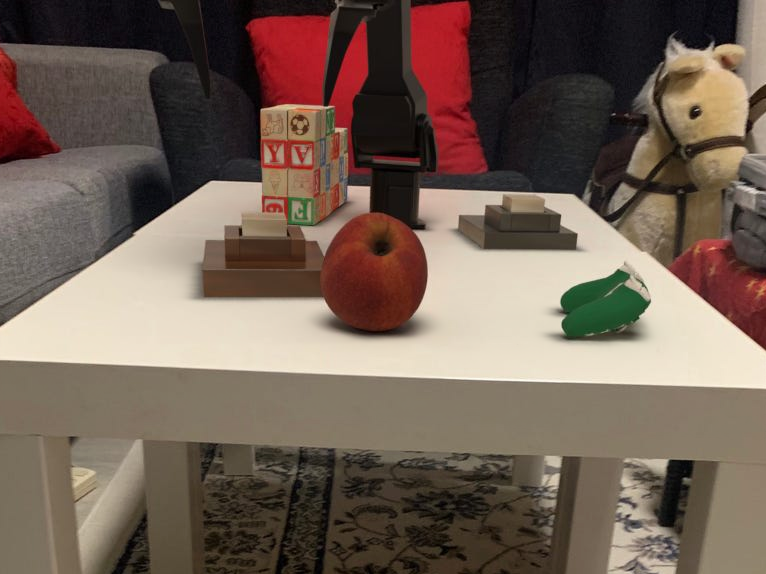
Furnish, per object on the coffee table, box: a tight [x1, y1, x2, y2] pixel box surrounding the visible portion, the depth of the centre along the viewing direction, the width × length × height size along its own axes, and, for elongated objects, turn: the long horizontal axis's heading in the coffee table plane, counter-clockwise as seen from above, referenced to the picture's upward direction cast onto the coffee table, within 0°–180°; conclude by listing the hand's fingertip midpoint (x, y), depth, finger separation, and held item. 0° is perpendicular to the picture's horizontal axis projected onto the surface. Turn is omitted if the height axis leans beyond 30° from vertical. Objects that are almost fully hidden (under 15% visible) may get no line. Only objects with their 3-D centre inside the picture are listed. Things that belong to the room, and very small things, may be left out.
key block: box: [201, 224, 325, 298], centre depth 79 cm, size 13×10×4 cm
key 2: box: [501, 193, 546, 213], centre depth 99 cm, size 4×4×2 cm
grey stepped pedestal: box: [457, 204, 579, 251], centre depth 102 cm, size 12×10×4 cm
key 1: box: [240, 211, 288, 236], centre depth 78 cm, size 4×4×2 cm
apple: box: [320, 212, 429, 332], centre depth 65 cm, size 7×8×8 cm
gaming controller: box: [559, 259, 652, 339], centre depth 68 cm, size 9×4×6 cm
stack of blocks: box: [259, 103, 349, 226], centre depth 114 cm, size 21×6×12 cm, turn 172°
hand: (267, 103), depth 74 cm, fingers open, 9 cm apart
